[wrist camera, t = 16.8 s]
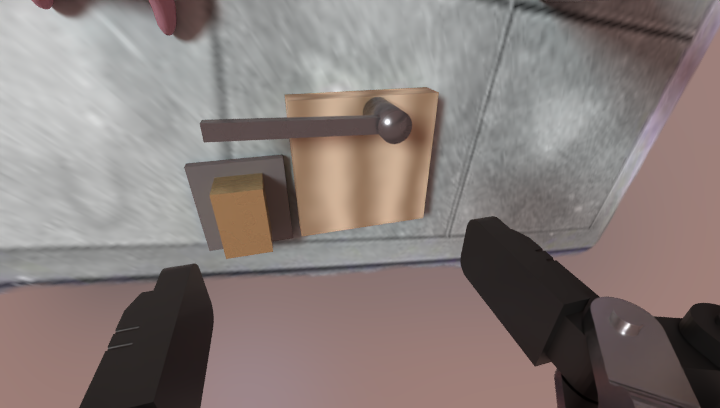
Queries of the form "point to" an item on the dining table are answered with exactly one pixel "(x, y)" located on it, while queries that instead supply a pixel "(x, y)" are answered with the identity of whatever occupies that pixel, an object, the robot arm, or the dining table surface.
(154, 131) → the dining table surface
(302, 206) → the base plate
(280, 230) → the mat
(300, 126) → the clamp lever
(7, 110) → the dining table surface
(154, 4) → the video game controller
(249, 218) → the brown rectangular block
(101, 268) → the dining table surface
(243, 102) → the dining table surface
